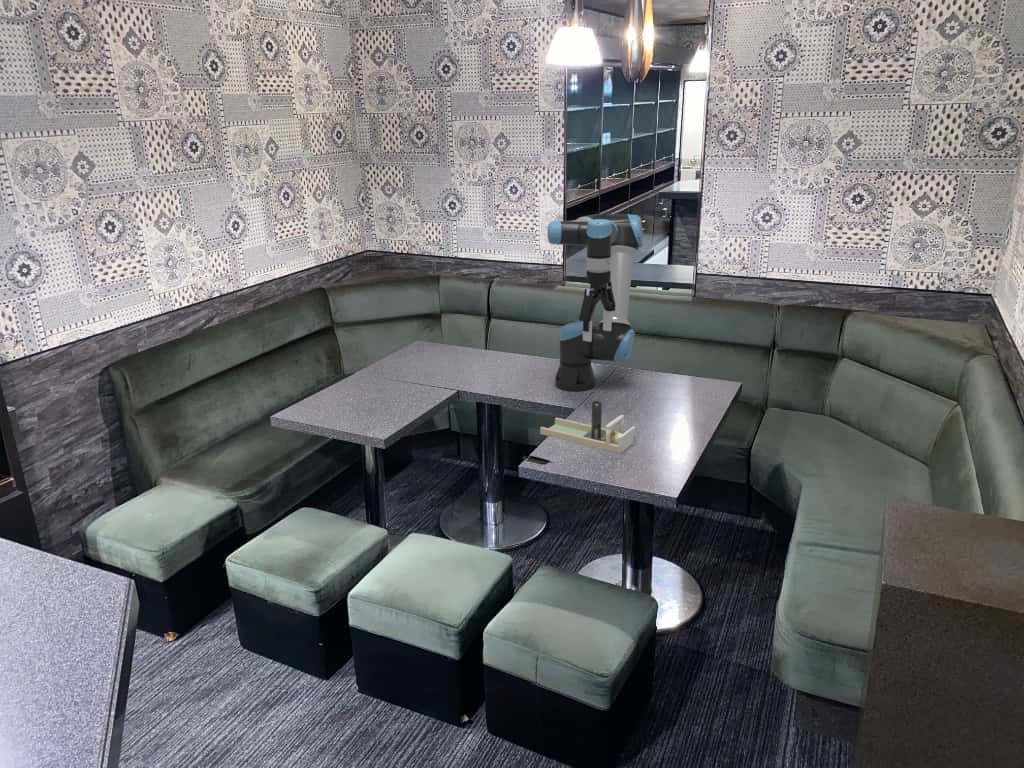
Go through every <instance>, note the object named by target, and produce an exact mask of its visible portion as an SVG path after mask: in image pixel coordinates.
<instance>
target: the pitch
mask: <svg viewBox="0 0 1024 768" xmlns="http://www.w3.org/2000/svg"><path fill="white" fill-rule="evenodd" d="M624 419H625V415H624V414H620V415H618V416H617V417H616V418H614V419H613V420H612V421H610V422H609V423H607V424H605V428H604V427H601V433H605V434H606V442H603V441H599V440H594V439H590V438H586V437H583V436H584V435H585V434H587V433H588V432H590V431H591V426H592V424H586V423H582V422H577V421H573V420H568V419H564V418H560V417H555V419H554V424H553V425H552V426H550V427H548V428H547V427H544V426H540V427H539V428H540V429H539V431H540V432H539V434H540V435H544V436H548V437H552V438H556V439H560V440H564V441H568V442H572V443H576V444H580V445H583V446H588V447H591V448H592V447H593V448H596V449H600V450H604V451H608V452H612V453H616V454H622V453H623V452H625V451H626V450H627V449H628V448H629V447H630V446H632V445H633V444H634V443H635V442H636V426H634V425H633V426H631V427H630V428H629V429H628V430H626V431H625V432H624V422H625V421H624ZM618 423H619V429H618V431H616V430H614V431H615V434H617V433H622V435H621V436H620V437H618V445H615V444H614V442H613V441H612V442H611V443H610V431H611V430H612V428H613V427H614V426H615V425H617V424H618ZM550 435H551V436H550Z"/></svg>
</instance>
